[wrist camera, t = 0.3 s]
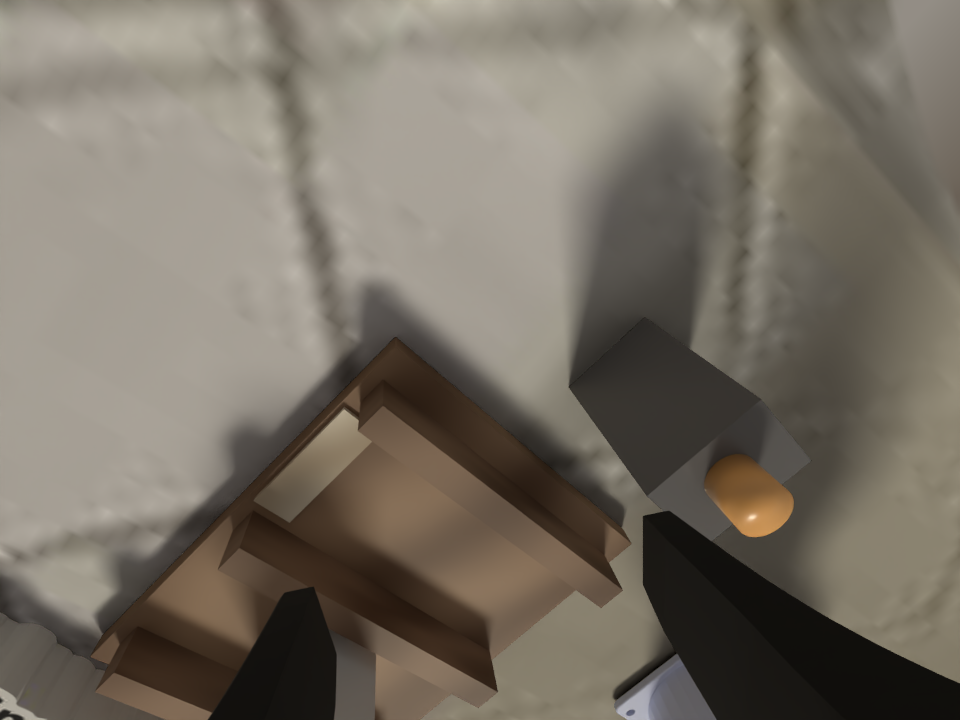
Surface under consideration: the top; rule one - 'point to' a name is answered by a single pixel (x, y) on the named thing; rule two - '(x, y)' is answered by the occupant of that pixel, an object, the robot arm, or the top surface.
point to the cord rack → (373, 553)
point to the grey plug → (354, 680)
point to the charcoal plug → (691, 434)
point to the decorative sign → (51, 680)
